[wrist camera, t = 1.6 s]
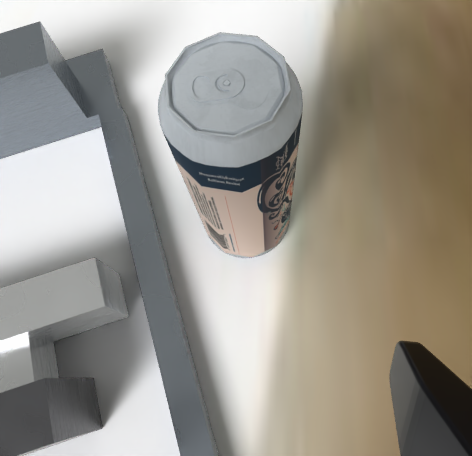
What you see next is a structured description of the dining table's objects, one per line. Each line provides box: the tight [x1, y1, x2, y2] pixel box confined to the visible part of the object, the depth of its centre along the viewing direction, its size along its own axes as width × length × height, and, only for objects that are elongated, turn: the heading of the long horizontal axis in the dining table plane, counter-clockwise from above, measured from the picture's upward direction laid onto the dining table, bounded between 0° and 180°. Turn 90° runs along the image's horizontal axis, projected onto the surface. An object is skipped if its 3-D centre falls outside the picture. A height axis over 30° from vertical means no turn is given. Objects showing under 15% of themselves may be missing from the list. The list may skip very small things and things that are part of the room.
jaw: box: [0, 257, 129, 456], centre depth 20 cm, size 8×11×5 cm
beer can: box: [158, 32, 303, 258], centre depth 18 cm, size 5×5×12 cm
